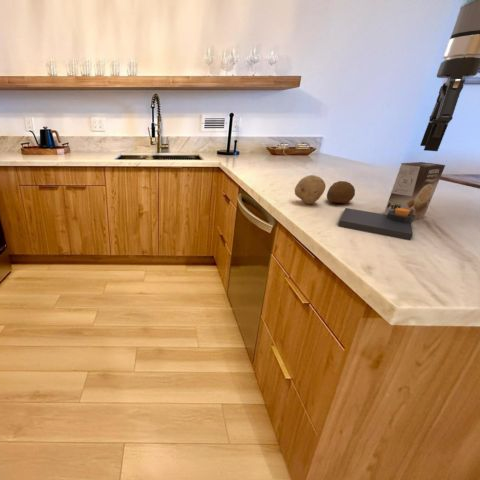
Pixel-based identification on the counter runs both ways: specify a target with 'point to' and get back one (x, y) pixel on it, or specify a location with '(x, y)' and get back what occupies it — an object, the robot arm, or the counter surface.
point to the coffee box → (415, 187)
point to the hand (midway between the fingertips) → (428, 148)
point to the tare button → (402, 211)
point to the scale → (378, 223)
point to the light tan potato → (310, 189)
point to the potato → (341, 192)
